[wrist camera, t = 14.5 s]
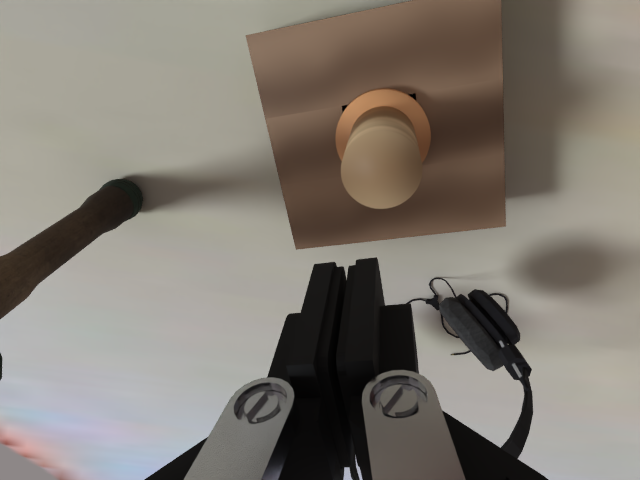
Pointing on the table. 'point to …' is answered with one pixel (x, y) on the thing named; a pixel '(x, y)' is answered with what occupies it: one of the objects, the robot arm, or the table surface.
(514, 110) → the table surface
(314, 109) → the socket block
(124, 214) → the stick grenade
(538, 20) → the table surface
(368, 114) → the peg
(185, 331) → the table surface
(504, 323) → the headphones
